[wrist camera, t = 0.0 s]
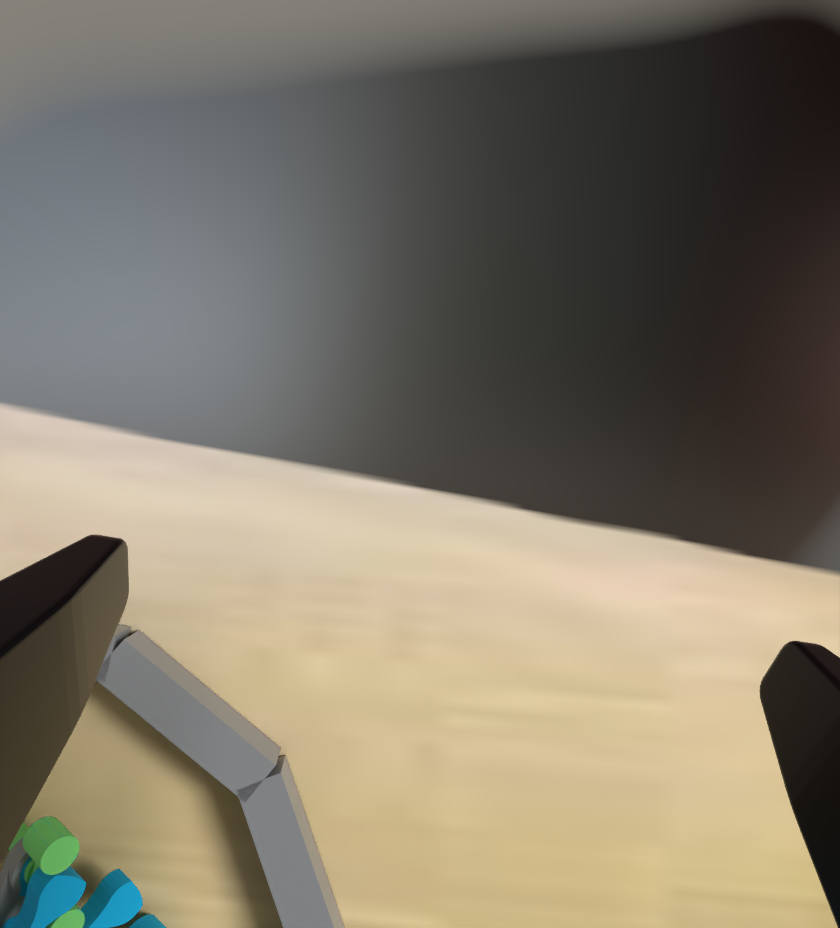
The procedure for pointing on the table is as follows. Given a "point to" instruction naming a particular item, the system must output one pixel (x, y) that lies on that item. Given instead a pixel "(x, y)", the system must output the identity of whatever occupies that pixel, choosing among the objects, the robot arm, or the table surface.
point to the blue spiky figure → (61, 885)
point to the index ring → (229, 770)
